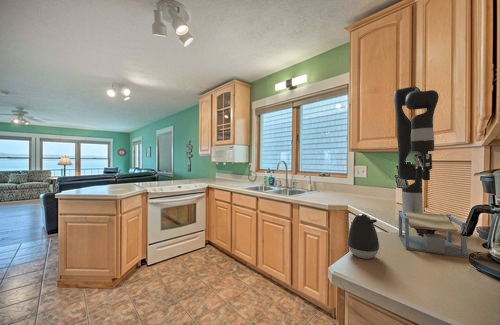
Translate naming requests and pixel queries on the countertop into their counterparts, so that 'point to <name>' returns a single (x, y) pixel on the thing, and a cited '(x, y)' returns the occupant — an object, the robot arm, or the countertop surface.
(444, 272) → the countertop surface
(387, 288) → the countertop surface
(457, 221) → the trapdoor frame
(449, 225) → the trapdoor
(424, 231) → the rock
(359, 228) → the penguin figurine
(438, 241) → the basalt cube
